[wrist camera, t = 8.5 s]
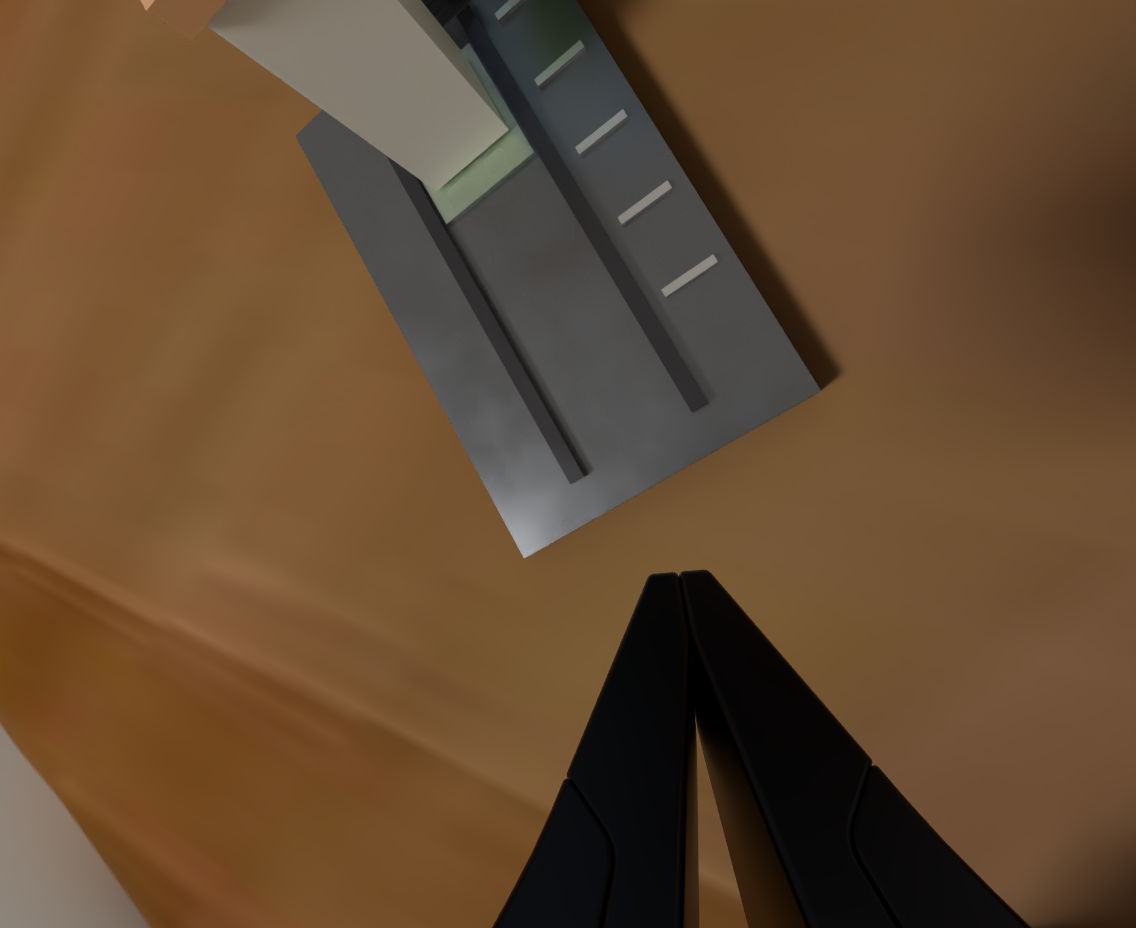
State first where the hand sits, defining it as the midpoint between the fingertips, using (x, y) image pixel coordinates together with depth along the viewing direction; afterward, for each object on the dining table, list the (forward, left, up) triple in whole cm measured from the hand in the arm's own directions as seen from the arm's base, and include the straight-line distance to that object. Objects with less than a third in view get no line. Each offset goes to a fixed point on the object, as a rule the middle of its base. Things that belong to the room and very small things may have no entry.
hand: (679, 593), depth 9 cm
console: (+6, +9, -13) cm, 17 cm away
